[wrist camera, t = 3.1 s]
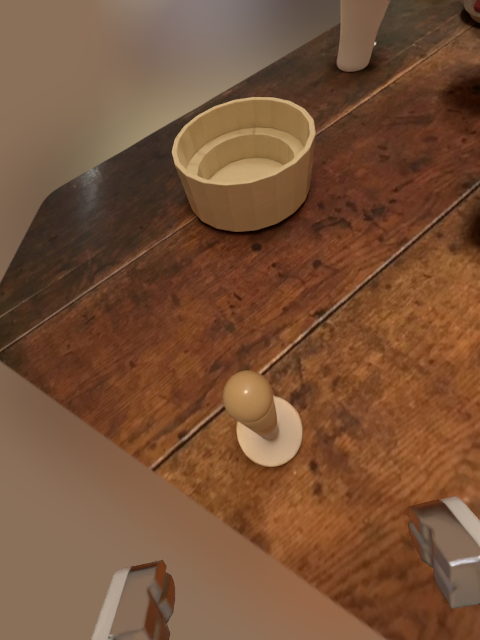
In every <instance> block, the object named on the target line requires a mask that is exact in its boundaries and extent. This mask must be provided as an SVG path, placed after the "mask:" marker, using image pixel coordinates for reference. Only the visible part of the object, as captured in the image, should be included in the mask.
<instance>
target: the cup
mask: <svg viewBox="0 0 480 640" xmlns="http://www.w3.org/2000/svg"><path fill="white" fill-rule="evenodd" d="M340 1H341V16H340V18H341V32H340V44H339V52H338V57H337V62H336V63H337V67H338V68H339V69H340V70H342V71H346V72H354V71H359V70H361V69H364V68H365V67H366V66H367V65H368V64H369V61H370V57H371V53H372V49H373V45H374V41H375V38H376V35H377V32H378V28H379V26H380V24H381V21H382V19H383V17H384V15H385V12H386V9H387V7H388V5H389V2H390V1H391V0H340Z"/></svg>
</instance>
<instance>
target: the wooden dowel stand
mask: <svg viewBox="0 0 480 640" xmlns="http://www.w3.org/2000/svg"><path fill="white" fill-rule="evenodd" d="M223 404H224V406H225V409H226V410H227V412H228V413H229V415H230V416H231V417H233V418H234V419H235V420H237V426H236V434H237V439H238V443H239V445H240V447H241V449H242V451H243V452H244V454H245V455H246V456H247V457H248V458H249V459H250V460H252V461H253V462H255V463H256V464H259V465H261V466H265V467H276V466H280V465H283V464H285V463H287V462H289V461H290V460H291V459H292V458H293V457H294V456H295V455H296V454H297V452H298V450H299V449H300V446H301V443H302V439H303V426H302V422H301V419H300V416H299V414H298V413H297V411H296V410H295V408H294V407H293V406H292V405H291V404H290V403H289V402H287V401H286V400H284V399H282V398H280V397H277V396H273V392H272V388H271V386H270V384H269V382H268V381H267V380H266V378H265V377H263V376H262V375H261V374H259V373H257V372H254V371H241V372H238V373H236V374H234V375H233V376H232V377H231V378H230V379H229V380H228V381H227V383H226V384H225V387H224V389H223Z"/></svg>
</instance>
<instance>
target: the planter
mask: <svg viewBox="0 0 480 640" xmlns="http://www.w3.org/2000/svg"><path fill="white" fill-rule="evenodd" d="M475 2H476V0H465V1H464V8H465V10H466V11H467V12H468V13H470V16H471V18H472V19H473V20H474V21H476V22H478V23H480V14H479V13H476V12H475V11H474V7H473V6H474V4H475Z"/></svg>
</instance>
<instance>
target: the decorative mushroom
mask: <svg viewBox="0 0 480 640" xmlns="http://www.w3.org/2000/svg"><path fill="white" fill-rule="evenodd" d="M473 7H474V11H475V12H476V13H479V14H480V0H476V2H475V4H474V6H473Z"/></svg>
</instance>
